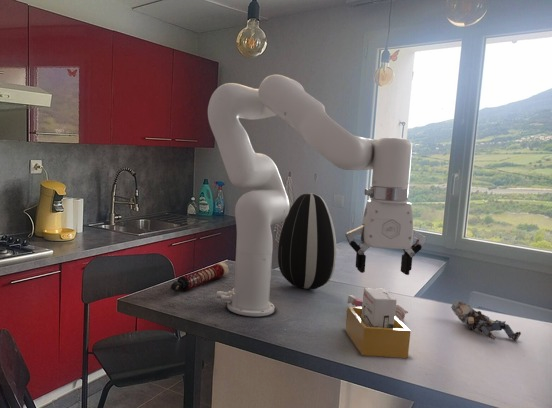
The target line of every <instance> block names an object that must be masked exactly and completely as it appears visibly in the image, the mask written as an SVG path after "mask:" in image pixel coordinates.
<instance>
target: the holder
mask: <svg viewBox="0 0 552 408" xmlns="http://www.w3.org/2000/svg"><path fill="white" fill-rule="evenodd" d="M361 310H362V307H357V306H347V307H346V317H345V318H346V319H345V328H344V329H345V330H344V331H345V332H346V334H347V335H348V337H349V338H350V340H351V341H352V342H353V344H354V346H355V347H356V349H357V350H358V352H359V353H360V355H361V356H367V357H368V356H370V357H383V358H398V359H399V358H401V359H408V358H409V349H410V340H411V329H410V328H408V326H407V325H405V324H404V322H401V321H400V320H399V319H398V318H397V317H396V316H395V319H394V328H379V327H367V326H366V325H365V324H364V322H363V321H362V320H361Z"/></svg>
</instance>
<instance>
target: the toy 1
mask: <svg viewBox="0 0 552 408" xmlns="http://www.w3.org/2000/svg"><path fill="white" fill-rule="evenodd" d="M362 302H363V299H360V298H358V297H357V296H355V295H353V294H349V295H348V297H347V302H346V303H347V304H351V305H352V306H354V307H362ZM406 314H409V311H407V310H405V309H404V308H403V307H402V306H401V305H399V304H396V310H395V316H396V317H397V318H398V319H399V320H400V321H401V322H402V323H404V321H405V320H404V319H405V316H406Z"/></svg>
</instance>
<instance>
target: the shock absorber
mask: <svg viewBox="0 0 552 408" xmlns="http://www.w3.org/2000/svg"><path fill="white" fill-rule="evenodd" d="M229 267H230V266H229V264H227V263H225V262H224V261H221V262H218V263H215V264H213V265H211V266H210V265H209V266H208V267H205V268H202V269H199V270H196V271H193V272H191V273H188V274H184V275H181V276H179V277H178V278H177V279H176V280H177V281H174V282H173V283H172V284H171V286H170V289H171V290H172V291H173V292H177V291H178V290H181V291H183V292H186V291H189V290H190V289H194V288H197V286H201V285H204V284H206V283H208V282H211V281H214V280H216V279H220V278H223V277H225V276H227V275H228V274H229V271H230V269H229ZM195 281H196V282H195Z"/></svg>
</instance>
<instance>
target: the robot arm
mask: <svg viewBox="0 0 552 408" xmlns="http://www.w3.org/2000/svg"><path fill="white" fill-rule="evenodd" d="M273 117H278V118H280V120H282V121H284V122H285V123H287V125H288V126H290V127H292V129H294V130H295V131H297V132H298V133H299V135H300V136H301V137H302V139H304V141H305V142H306V143H307V144H308V145H309V146H310V147H311V148H312V149H313V150H314V151H316V152H317V153H318V154H319V155H321V156H322V157H323V158H325V160H327V161H328V162H329V163H331V164H332V165H334V166H335V167H336V168H338V169H341V170H344V171H368V170H369V171H370V170H372V173H371V174H372V175H371V185H370V187H369V188H365V189H364V193H363V194H364V195H365V196H367V197H369V198H370V199H368V200H367V201H366V204H365V209H364V212H363V215H362V216H363V217H362V222H361V225H360V226H358V227H356V228H353V229H351V230H349V231H347V232H346V233H344V234H345V238H346V240H347V242H348V244H349V246H350V247H351V248H352V249H353V250H354V252H355V253H356V255H355V268H356V269H357V271H358V272H359V273H361V274H363V273H365V272H366V259H367V256H366V254H365V252H366V251H368V249H370V248H373V249H374V248H375V249H377V248H378V249H395V250H402V251H403V254H402V255H401V261H400V272H401V273H403V274H404V275H406V276H409V275H410V271H412V266H413V258H414V257H415V256H416V254H418V253H419V251H421V250H422V247H423V246H424V245H425V243H426V241H427V239H428V238H427V236H424V235H423V234H421V233H419V232H418V231H416V230H415V229H414V214H413V213H414V212H413V205H412V203H411V202H408V201H409V200H408V199H409V189H410V188H409V187H410V177H411V176H410V175H411V167H412V165H411V164H412V155H413V154H412V153H413V152H412V151H413V143H412V142H411V140H410V139H408V138H402V137H381V138H379V139H375V138H368V137H362V136H358V135H355V134H353V133H351V132H350V131H348V130H347V129H346V128H344V126H342V125H340V124H339V123H338V122H336V121H335V120H334V119H332V118H331V117H330V116H329V115H328V114H327V112H326V107H325V105H324V104H323V103H322V102H321V101H319V100H318V99H316V98H315V97H313V96H312V95H311V94H309V93H308V92H306V91H305V88H304V87H303V85H302V84H301V83H300V82H299V81H297V80H295V79H293V78H290V77H288V76H285V75H282V74H271V75H268V76H266V77H265V78H264V79H263V80H262V81H261V83H260V84H259V87H258V88H254V87H250V86H247V85H243V84H240V83H235V82H228V83H223V84H221V85H219V86H218V87H217V88H216V89H215V90H214V91H213V92H212V94H211V96H210V99H209V102H208V106H207V119H208V124H209V127H210V130H211V132H212V134H213V137H214V139H215V142H216V144H217V148H218V150H219V153H220V157H221V160H222V163H223V165H224V168H225V172H226V175H227V177H228V180H229V181H230V183H231V184H232V185H233V186H234V187H236V188H239V189H251V190H250V191H248V192H247V191H246V192H245V193H243V194H242V195H240V197H239V198H238V200H237V201H236V203H235V208H234V218H235V226H236V245H235V263H234V264H235V265H234V280H233V287H232V288H231V290H228V291H223V290H222V291H221V290H217V291H216V299H219V300H220V301H222V302H226V304H227V305H226V308H227V310H228V311H230V312H232V313H234V314H237V315H240V316H244V317H253V318H254V317H267V316H270V315H272V314H274V312H275V305H274V304H273V303H272V302H271V301H270V294H271V293H270V292H271V278H272V277H271V276H272V266H273V265H272V263H273V262H272V261H273V251H274V250H273V249H274V241H273V240H274V239H273V233H272V228H271V226H272V225H276V224H279V223H282V222H284V221H285V218H286V217H287V215H288V213H289V210H290V208H291V206H290V199H289V197H288V194H287V191H286V188H285V186H284V183H283V180H282V177H281V174H280V172H279V169H278V167H277V165H276V162H274V159H272V158H271V157H270V156H268V155H267V154H264V153H261V152H256V151H255V150H254V148H253V146H252V143H251V140H250V137H249V134H248V133H247V131H246V129H245V127H244V126H243V124H242V122H241V121H240V119H244V120H248V121H249V120H250V121H254V120H262V119H267V118H273ZM359 235H360V242H359V243H357V242H356V240H355V238H356V237H357V236H359ZM414 239H416V240H415V242H414ZM413 243H414V244H413Z"/></svg>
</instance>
